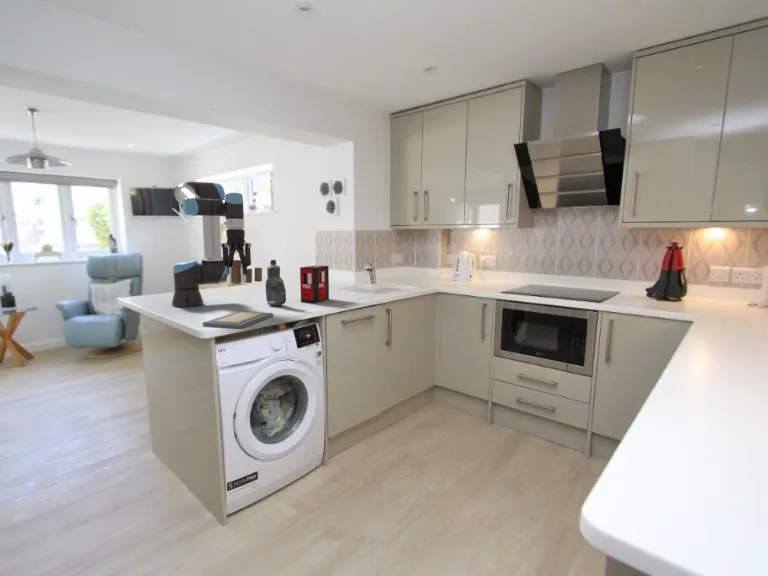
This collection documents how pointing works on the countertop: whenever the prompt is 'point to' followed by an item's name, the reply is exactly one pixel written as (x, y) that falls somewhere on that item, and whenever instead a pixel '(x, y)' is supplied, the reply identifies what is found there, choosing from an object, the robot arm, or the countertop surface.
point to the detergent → (275, 285)
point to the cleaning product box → (314, 284)
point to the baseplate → (238, 319)
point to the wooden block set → (237, 273)
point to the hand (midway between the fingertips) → (237, 281)
